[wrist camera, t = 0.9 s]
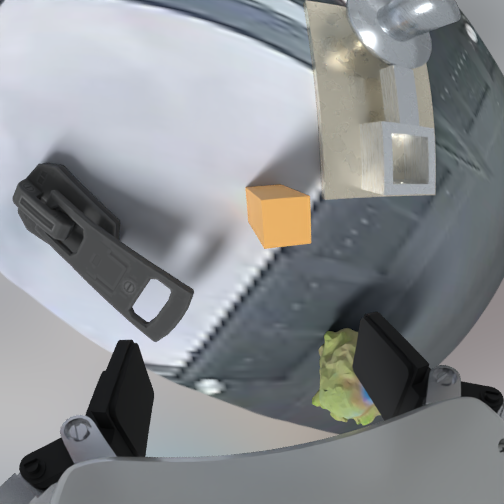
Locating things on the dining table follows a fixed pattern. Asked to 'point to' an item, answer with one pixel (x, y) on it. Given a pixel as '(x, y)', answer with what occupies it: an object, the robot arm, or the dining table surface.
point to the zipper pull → (95, 245)
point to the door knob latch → (375, 94)
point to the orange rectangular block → (279, 215)
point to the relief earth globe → (342, 380)
